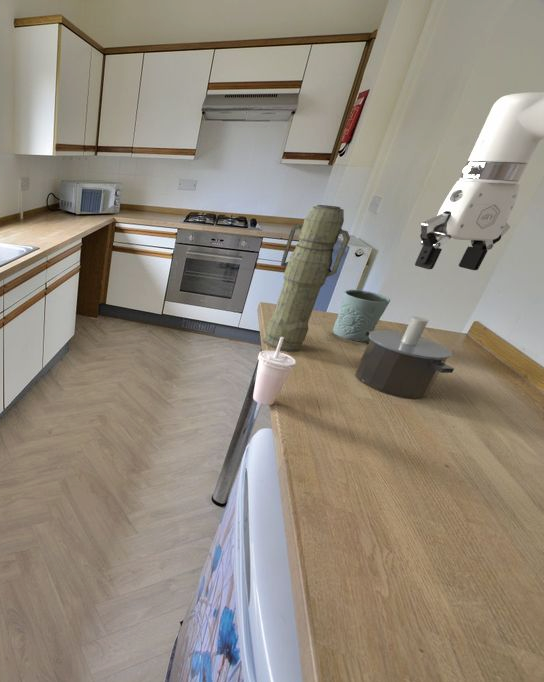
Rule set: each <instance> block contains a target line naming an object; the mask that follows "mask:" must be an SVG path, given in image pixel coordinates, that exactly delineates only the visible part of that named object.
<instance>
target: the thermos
mask: <svg viewBox="0 0 544 682" xmlns="http://www.w3.org/2000/svg"><path fill="white" fill-rule="evenodd" d="M344 220H345V211H344V209H343V208H341V207H340V206H337V205H336V206H335V205H328V204H327V205H326V204H317V205H316V206H312V207H311V209H310V210H309V211H308V213H307V215H306V216H305V218H304V220H303V223H298V224H296V225H295V226H293V227H292V228H291V230H290V232H289V236H288V239H287V242H286V246H285V248H284V251H283V255H282V259H281V262H280V266H281V267H284V274H283V283H282V286H281V290H280V293H279V296H278V298H277V299H278V300H277V302H276V306H275V308H274V312H273V315H272V317H271V318H270V319H269V320H268V323H267V326H266V329H265V335H264V338H263V343H264V344H265V345H266V346H268V347H270V348H272V349H277V346H278V343H279V340H280V337H284V339H283V342H282V345H281V348H280V351H282V352H292V353H295V352H299V351H301V348H302V344H303V343H304V342H305V339H306V337H307V334H308V331H309V321H310V318H311V316H312V313H313V310H314V307H315V304H316V302H317V299H318V296H319V293H320V291H321V288H322V287H323V286H324V285H325V284H326V281H327V278H328V277H331V276H333V275H335V274H336V273H337V272H338V270H339V267H340V264H341V261H342V259H343V256H344V254H345V251H346V249H347V246H348V244H349V242H350V239H351V237H350V234H349V231H347V230H345V229H343V225H344V222H345V221H344ZM297 229H299V230H300V233H299V235H298V242H297V244H296V245H295V248H294V250H293V251H292V253H291V254H290V256H289V255H288V254H289V252H290V248H291V245H292V242H293V239H294V236H295V232H296V231H297ZM340 235H342V238H343V240H342V243H341V245H340V248H339V250H338V253H337V256H336V258H335V262H334V263H333V253H334V247H335V244H336V243H337V241H338V239H339V236H340ZM288 256H289V258H288ZM287 258H288V261H287ZM286 261H287V262H286ZM332 265H333V267H332ZM331 267H332V269H331Z"/></svg>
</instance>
